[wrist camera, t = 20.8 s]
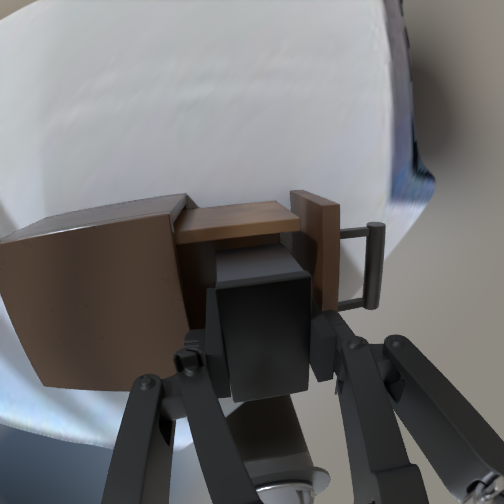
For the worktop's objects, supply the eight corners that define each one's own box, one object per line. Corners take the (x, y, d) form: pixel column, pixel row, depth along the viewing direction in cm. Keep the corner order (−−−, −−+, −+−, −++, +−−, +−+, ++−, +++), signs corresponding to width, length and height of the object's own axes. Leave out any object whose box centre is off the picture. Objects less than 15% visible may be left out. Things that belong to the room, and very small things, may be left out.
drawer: (354, 186, 25) (404, 200, 17) (351, 299, 28) (388, 340, 21) (144, 206, 23) (115, 228, 16) (168, 324, 27) (156, 378, 19)
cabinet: (186, 192, 24) (169, 213, 15) (205, 321, 28) (204, 388, 19) (45, 217, 23) (-15, 246, 14) (78, 329, 27) (43, 386, 18)
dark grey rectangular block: (283, 240, 17) (312, 275, 12) (286, 338, 20) (308, 390, 15) (212, 248, 17) (214, 288, 12) (227, 347, 19) (233, 403, 14)
